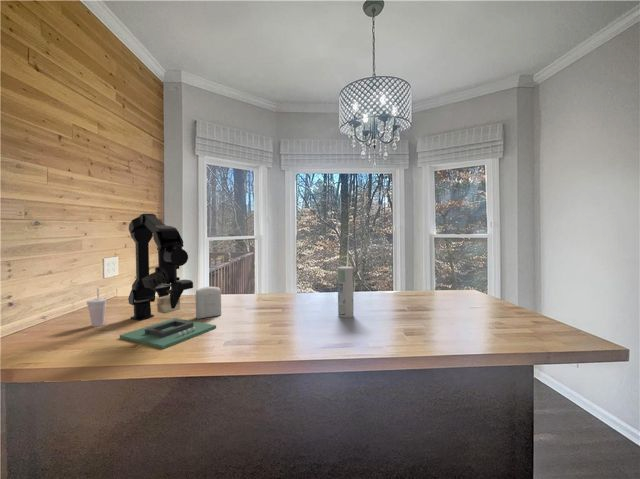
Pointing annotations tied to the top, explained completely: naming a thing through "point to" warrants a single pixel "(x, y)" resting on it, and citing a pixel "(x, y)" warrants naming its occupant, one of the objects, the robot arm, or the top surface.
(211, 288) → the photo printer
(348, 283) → the spray can
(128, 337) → the socket board
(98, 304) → the smoothie
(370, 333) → the top surface
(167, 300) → the plug
